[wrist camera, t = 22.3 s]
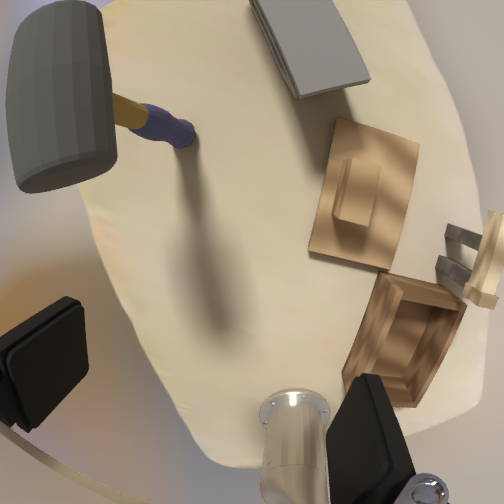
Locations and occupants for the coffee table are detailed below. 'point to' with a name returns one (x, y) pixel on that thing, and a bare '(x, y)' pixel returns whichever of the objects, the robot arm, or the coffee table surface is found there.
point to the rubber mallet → (71, 101)
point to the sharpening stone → (310, 45)
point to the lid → (364, 194)
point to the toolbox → (409, 328)
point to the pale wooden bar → (487, 264)
